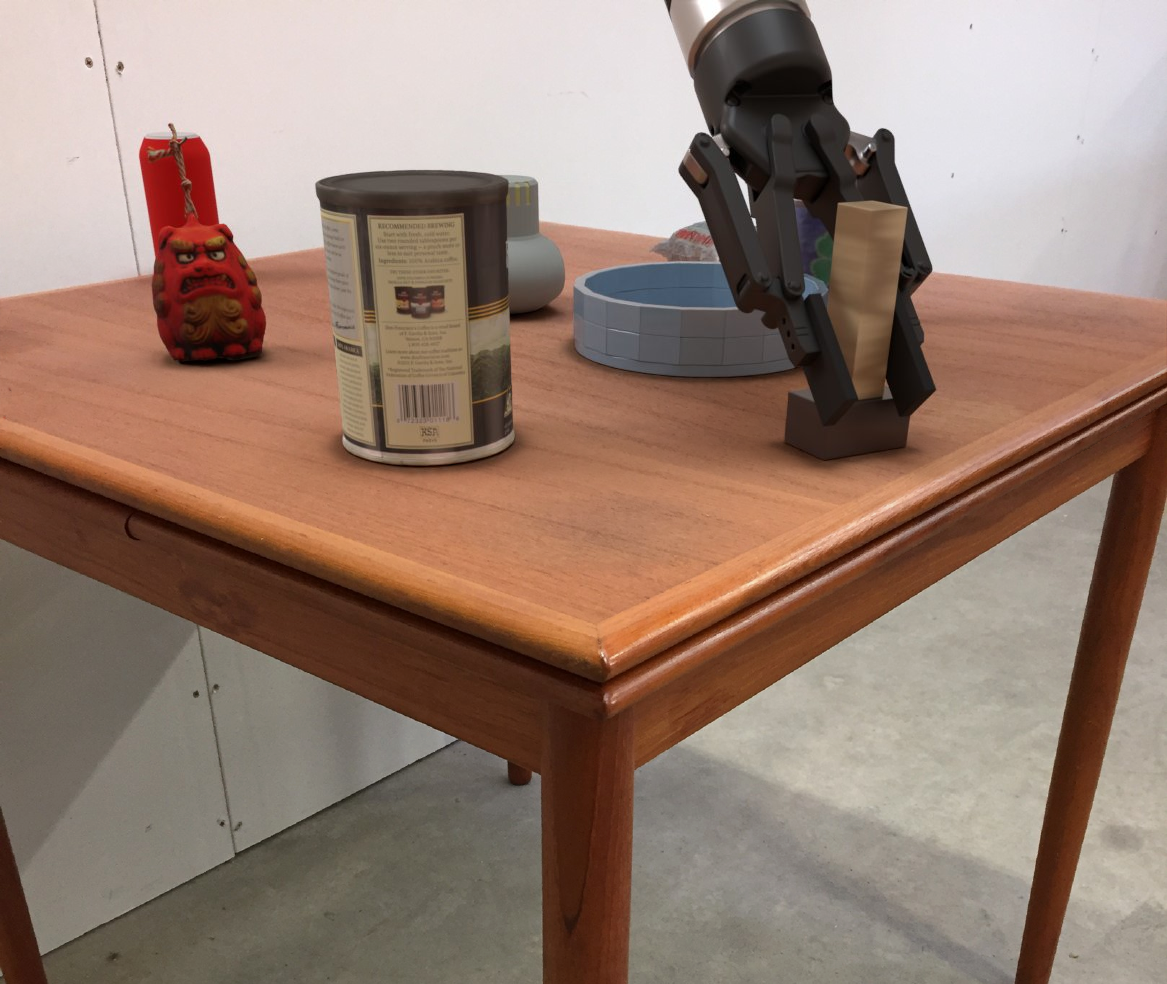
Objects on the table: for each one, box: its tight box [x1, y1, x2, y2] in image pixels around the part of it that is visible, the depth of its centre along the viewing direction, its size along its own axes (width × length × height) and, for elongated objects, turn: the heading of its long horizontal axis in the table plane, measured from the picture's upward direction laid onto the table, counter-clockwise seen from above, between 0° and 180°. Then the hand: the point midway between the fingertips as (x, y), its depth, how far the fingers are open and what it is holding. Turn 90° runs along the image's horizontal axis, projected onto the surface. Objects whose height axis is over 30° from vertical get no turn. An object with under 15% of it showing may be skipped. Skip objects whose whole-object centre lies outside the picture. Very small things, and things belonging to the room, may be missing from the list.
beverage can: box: [138, 131, 220, 259], centre depth 115 cm, size 6×6×12 cm
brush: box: [783, 201, 911, 461], centre depth 71 cm, size 6×4×13 cm, turn 117°
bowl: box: [572, 261, 829, 378], centre depth 94 cm, size 19×19×4 cm
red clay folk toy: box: [147, 122, 267, 363], centre depth 89 cm, size 8×7×15 cm
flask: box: [794, 186, 857, 304], centre depth 102 cm, size 9×3×11 cm, turn 71°
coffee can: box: [314, 169, 516, 466], centre depth 71 cm, size 10×10×14 cm
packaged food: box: [648, 220, 757, 262], centre depth 118 cm, size 9×12×5 cm
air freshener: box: [498, 174, 566, 315], centre depth 104 cm, size 11×8×10 cm
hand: (879, 407), depth 70 cm, fingers open, 4 cm apart
